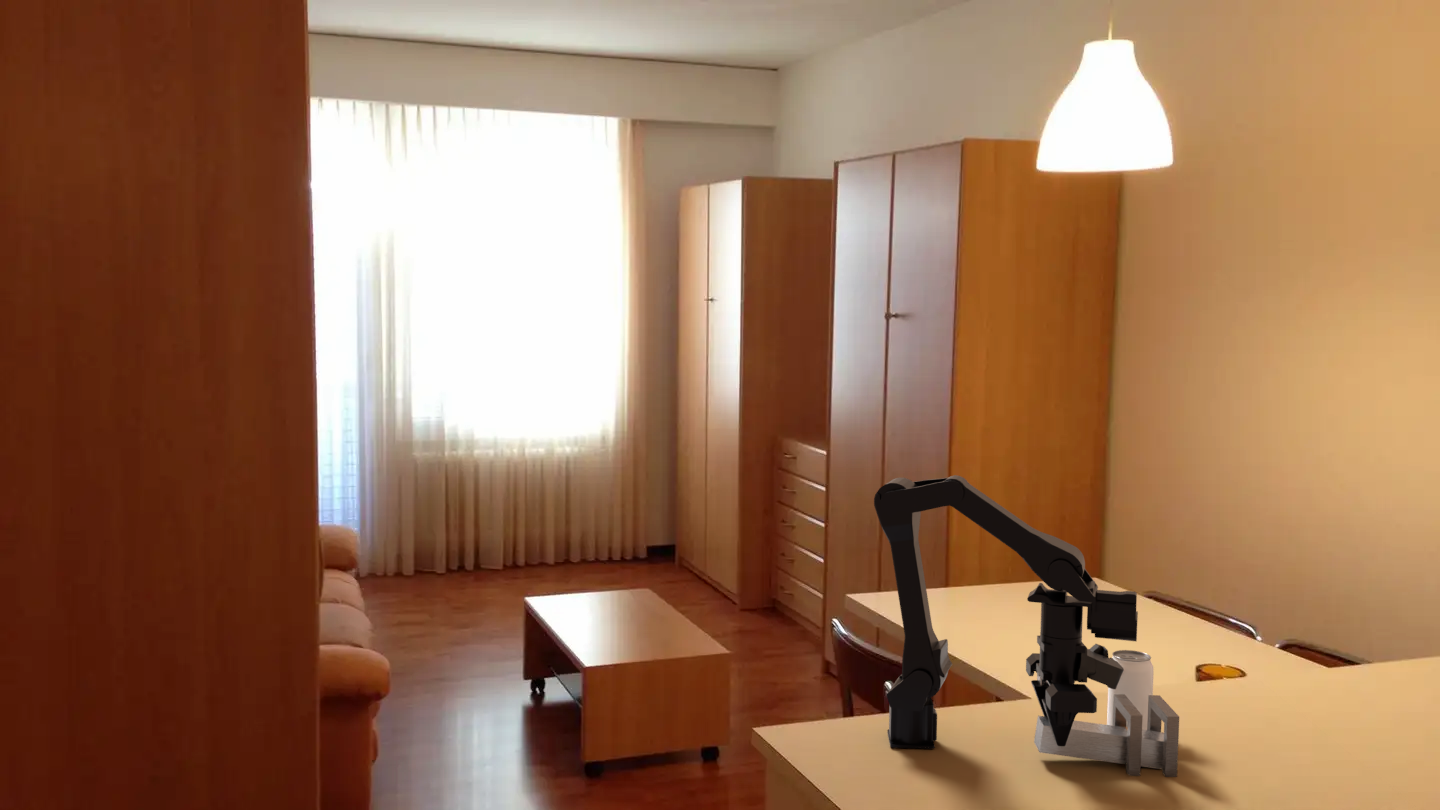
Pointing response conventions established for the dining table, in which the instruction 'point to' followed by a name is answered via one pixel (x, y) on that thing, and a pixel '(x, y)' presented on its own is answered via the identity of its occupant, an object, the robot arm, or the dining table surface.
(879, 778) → the dining table surface
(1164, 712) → the collar
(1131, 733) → the collar
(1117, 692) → the can
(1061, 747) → the grey banded block
